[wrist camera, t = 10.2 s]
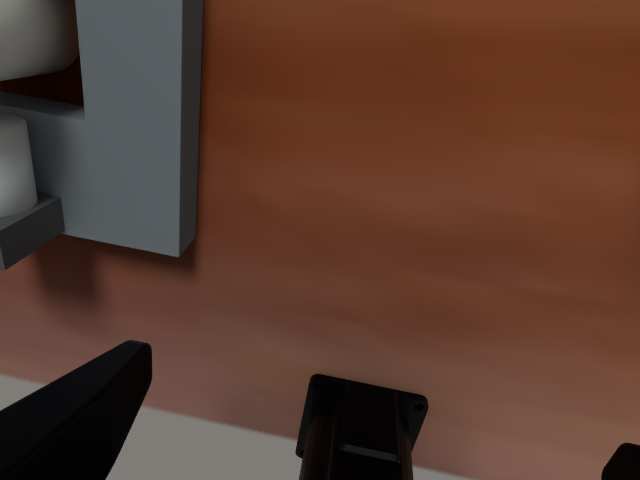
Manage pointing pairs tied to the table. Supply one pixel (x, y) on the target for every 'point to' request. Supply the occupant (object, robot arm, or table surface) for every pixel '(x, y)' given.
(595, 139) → the table surface
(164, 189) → the shaft mount
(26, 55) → the coupler
